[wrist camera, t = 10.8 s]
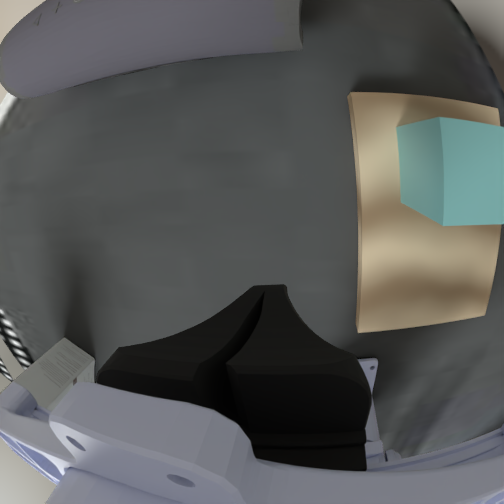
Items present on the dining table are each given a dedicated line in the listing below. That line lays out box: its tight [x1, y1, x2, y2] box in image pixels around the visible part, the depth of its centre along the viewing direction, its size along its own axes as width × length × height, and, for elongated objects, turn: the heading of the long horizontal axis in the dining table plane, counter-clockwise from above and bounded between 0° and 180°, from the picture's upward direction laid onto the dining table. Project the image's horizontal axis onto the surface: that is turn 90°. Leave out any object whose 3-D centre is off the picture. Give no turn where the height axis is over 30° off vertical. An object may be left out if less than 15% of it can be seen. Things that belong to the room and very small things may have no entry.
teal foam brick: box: [396, 117, 504, 226], centre depth 13 cm, size 5×5×7 cm
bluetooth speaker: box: [0, 0, 303, 99], centre depth 12 cm, size 23×9×10 cm, turn 88°
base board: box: [347, 92, 501, 333], centre depth 18 cm, size 18×13×2 cm
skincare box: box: [0, 337, 95, 412], centre depth 25 cm, size 8×6×15 cm
